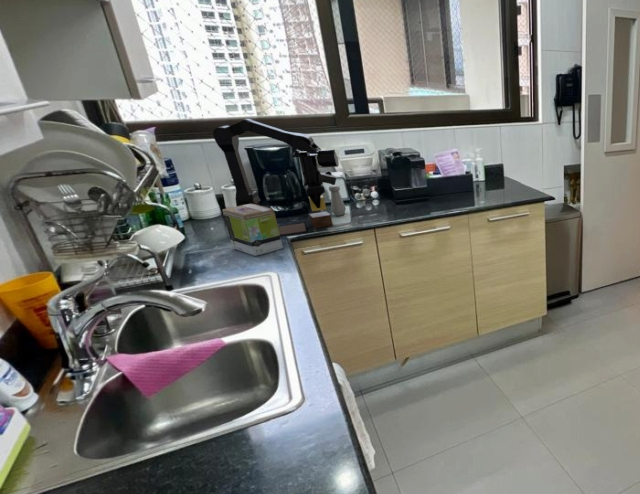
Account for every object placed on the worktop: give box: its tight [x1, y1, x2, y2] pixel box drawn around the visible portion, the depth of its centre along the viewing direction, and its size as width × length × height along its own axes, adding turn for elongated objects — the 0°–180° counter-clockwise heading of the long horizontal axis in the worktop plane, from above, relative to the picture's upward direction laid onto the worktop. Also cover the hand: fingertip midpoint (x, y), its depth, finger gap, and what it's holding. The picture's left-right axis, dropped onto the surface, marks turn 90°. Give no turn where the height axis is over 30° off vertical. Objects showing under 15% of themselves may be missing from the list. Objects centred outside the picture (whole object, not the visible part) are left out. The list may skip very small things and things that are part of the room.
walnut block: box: [308, 211, 333, 229], centre depth 191 cm, size 6×6×4 cm
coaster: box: [278, 222, 307, 237], centre depth 185 cm, size 12×12×1 cm
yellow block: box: [308, 194, 327, 212], centre depth 188 cm, size 5×5×5 cm
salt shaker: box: [328, 184, 347, 217], centre depth 203 cm, size 6×6×13 cm
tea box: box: [221, 204, 284, 257], centre depth 163 cm, size 15×10×15 cm, turn 59°
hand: (318, 206), depth 188 cm, fingers closed on yellow block, 5 cm apart
